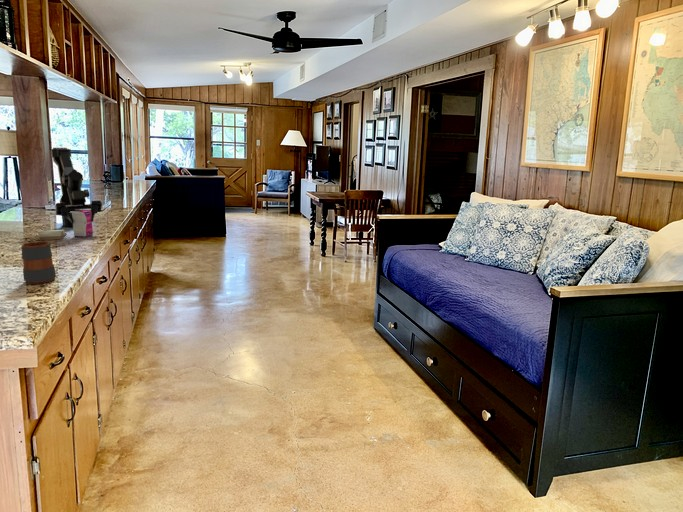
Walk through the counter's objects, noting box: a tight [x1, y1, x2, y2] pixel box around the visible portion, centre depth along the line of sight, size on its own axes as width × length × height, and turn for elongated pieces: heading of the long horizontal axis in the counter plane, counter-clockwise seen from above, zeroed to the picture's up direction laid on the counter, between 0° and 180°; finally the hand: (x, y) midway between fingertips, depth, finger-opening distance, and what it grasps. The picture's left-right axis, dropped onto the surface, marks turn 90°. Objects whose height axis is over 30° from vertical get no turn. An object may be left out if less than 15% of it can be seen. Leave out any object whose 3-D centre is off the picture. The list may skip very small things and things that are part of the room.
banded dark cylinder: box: [20, 241, 57, 285], centre depth 162 cm, size 9×12×12 cm
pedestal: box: [38, 229, 68, 241], centre depth 231 cm, size 9×9×3 cm
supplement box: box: [71, 209, 94, 238], centre depth 235 cm, size 6×6×12 cm
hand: (82, 222), depth 234 cm, fingers closed on supplement box, 8 cm apart
